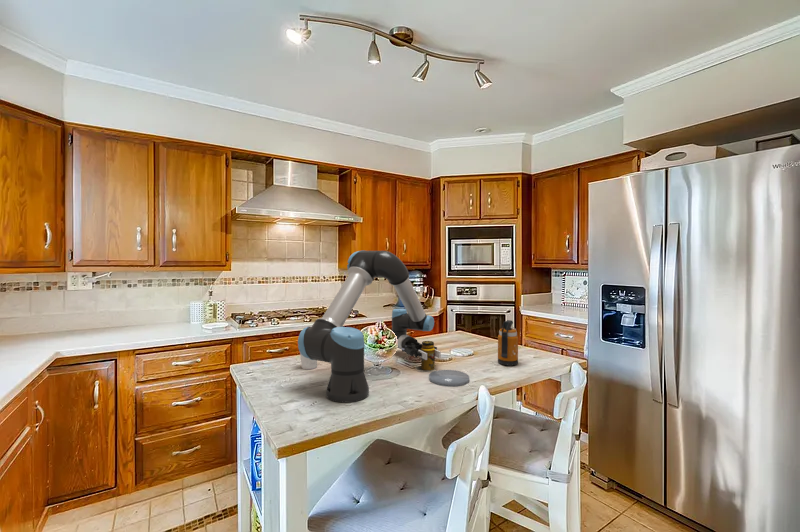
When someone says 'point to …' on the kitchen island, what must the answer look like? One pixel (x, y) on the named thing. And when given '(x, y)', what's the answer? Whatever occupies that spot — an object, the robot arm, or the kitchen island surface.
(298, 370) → the kitchen island surface
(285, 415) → the kitchen island surface
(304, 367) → the white cup
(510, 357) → the canister
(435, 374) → the trivet
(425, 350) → the condiment
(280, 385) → the kitchen island surface
